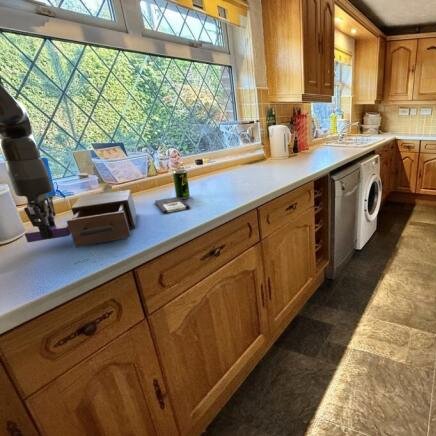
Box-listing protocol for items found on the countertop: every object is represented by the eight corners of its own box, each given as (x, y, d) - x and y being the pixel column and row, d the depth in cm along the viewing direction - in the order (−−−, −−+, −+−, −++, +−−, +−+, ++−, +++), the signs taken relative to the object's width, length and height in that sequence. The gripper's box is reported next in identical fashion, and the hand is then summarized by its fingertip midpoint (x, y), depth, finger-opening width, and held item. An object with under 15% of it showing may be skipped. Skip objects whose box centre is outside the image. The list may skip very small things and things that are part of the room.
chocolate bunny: (98, 208, 120) (90, 183, 117) (118, 202, 127) (111, 179, 123) (106, 209, 118) (99, 185, 114) (126, 204, 124) (120, 180, 121)
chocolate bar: (178, 196, 129) (189, 205, 115) (178, 198, 129) (189, 208, 116) (155, 200, 124) (163, 210, 110) (155, 202, 124) (163, 213, 111)
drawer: (129, 242, 84) (122, 216, 82) (72, 254, 79) (62, 226, 76) (132, 222, 100) (126, 200, 97) (85, 230, 94) (77, 207, 92)
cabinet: (135, 228, 97) (127, 199, 94) (81, 238, 91) (71, 207, 88) (136, 215, 110) (130, 189, 107) (89, 222, 104) (81, 196, 101)
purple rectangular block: (27, 242, 83) (24, 233, 82) (32, 237, 86) (29, 229, 85) (68, 235, 87) (66, 227, 86) (72, 231, 90) (69, 223, 89)
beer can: (173, 198, 128) (169, 170, 125) (182, 195, 134) (178, 168, 130) (184, 199, 127) (180, 171, 124) (192, 196, 132) (189, 169, 129)
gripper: (39, 179, 76) (60, 241, 82) (54, 170, 88) (72, 225, 94) (-2, 182, 73) (24, 247, 78) (20, 173, 85) (41, 230, 90)
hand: (50, 235), depth 86 cm, fingers closed on purple rectangular block, 4 cm apart
